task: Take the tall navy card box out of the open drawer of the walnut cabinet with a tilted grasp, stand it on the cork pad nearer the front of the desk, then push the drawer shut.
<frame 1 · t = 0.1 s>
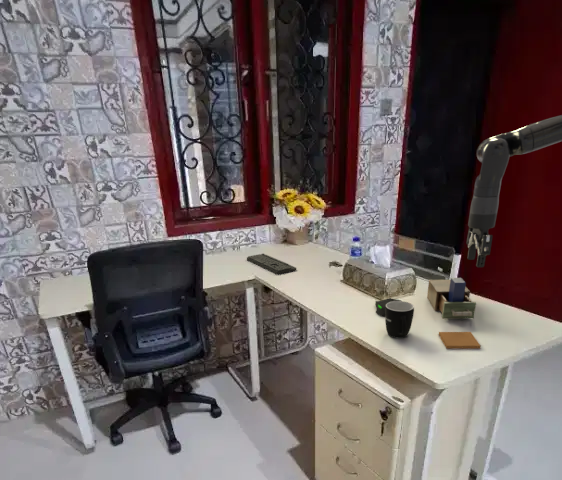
hand: (475, 263, 133), 22 cm above the table, tool pointing down, fingers open, 8 cm apart
cabinet: (446, 304, 159), on the table
drawer: (455, 306, 147), point 4 cm above the table, slide at 8.0 cm, touching card box
mug: (398, 336, 137), on the table
card box: (454, 309, 150), point 2 cm above the table, touching drawer
black electronic device: (389, 311, 157), on the table
keyboard: (270, 265, 221), on the table
cork pad: (458, 341, 131), on the table
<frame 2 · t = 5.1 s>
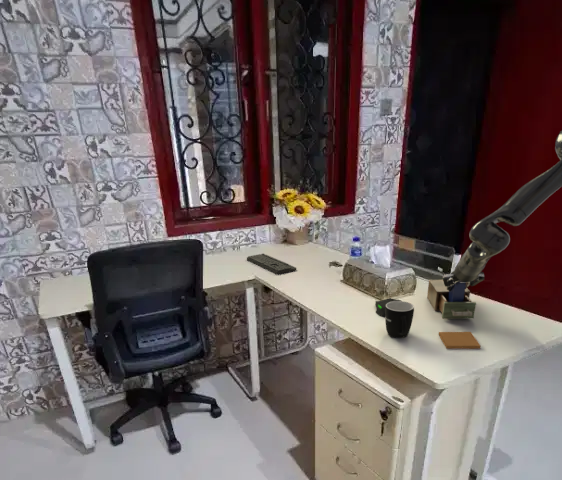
hand: (455, 288, 148), 9 cm above the table, tool tilted 45°, fingers closed on card box, 3 cm apart
card box: (454, 309, 150), point 2 cm above the table, touching drawer, gripper
everything else where it was.
when the fingers open (8 cm above the table, at t = 14.4 s): card box stays where it is, resting on cork pad.
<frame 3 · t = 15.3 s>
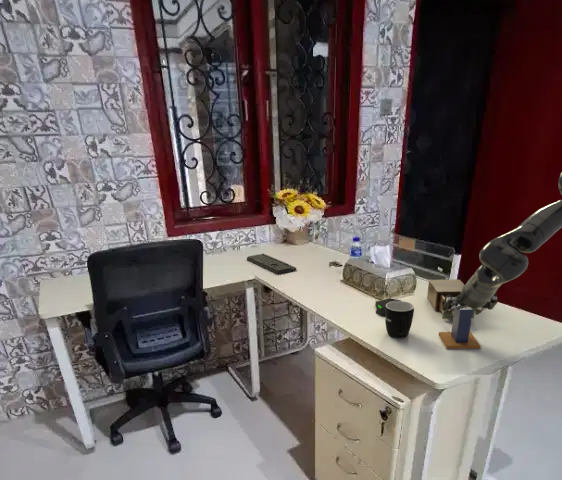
hand: (461, 311, 128), 10 cm above the table, tool tilted 45°, fingers open, 8 cm apart
drawer: (455, 306, 147), point 4 cm above the table, slide at 8.0 cm
card box: (459, 338, 131), point 1 cm above the table, touching cork pad
everything else where it was.
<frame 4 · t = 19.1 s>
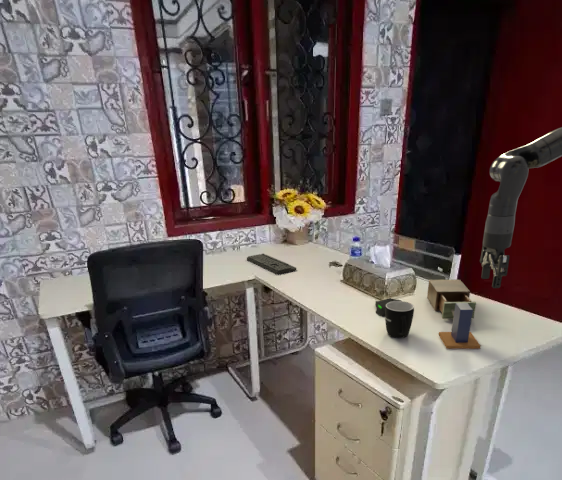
hand: (490, 283, 128), 17 cm above the table, tool pointing down, fingers open, 8 cm apart
nothing on the table moved.
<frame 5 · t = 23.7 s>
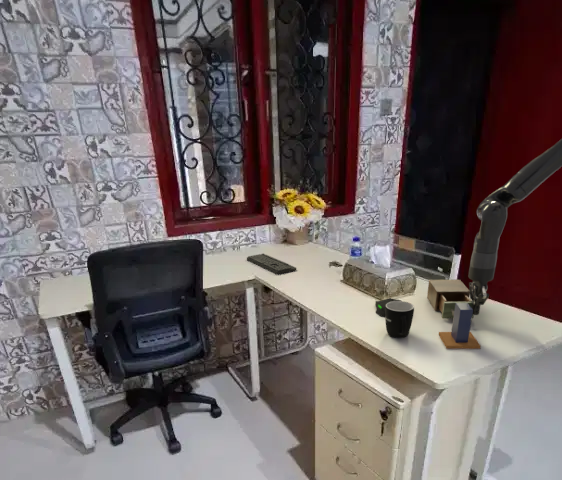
hand: (474, 313, 141), 4 cm above the table, tool pointing down, fingers closed
drawer: (455, 306, 147), point 4 cm above the table, slide at 7.7 cm, touching gripper
everything else where it was.
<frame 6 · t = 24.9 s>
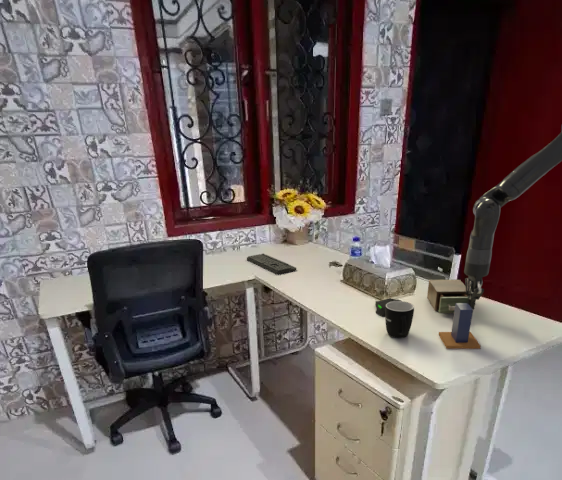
hand: (470, 308, 146), 4 cm above the table, tool pointing down, fingers closed
drawer: (452, 301, 152), point 4 cm above the table, slide at 3.0 cm, touching gripper
everything else where it was.
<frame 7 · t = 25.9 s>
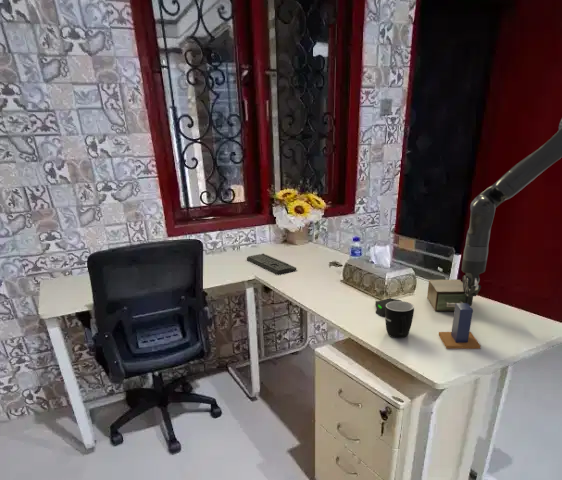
hand: (467, 305, 148), 4 cm above the table, tool pointing down, fingers closed
drawer: (450, 298, 154), point 4 cm above the table, slide at 0.0 cm, touching cabinet, gripper
everything else where it was.
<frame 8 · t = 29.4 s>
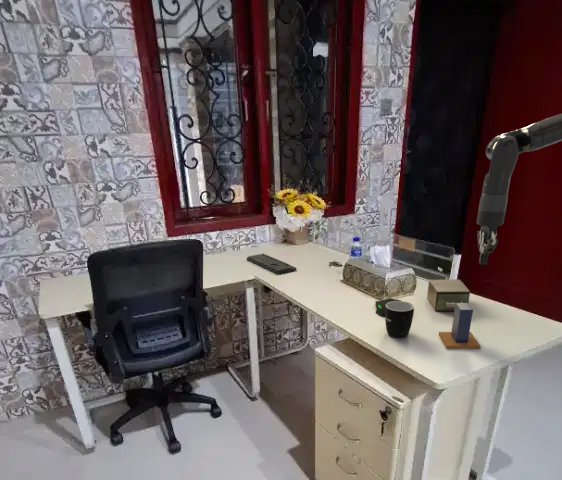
hand: (482, 263, 134), 21 cm above the table, tool pointing down, fingers closed
drawer: (450, 298, 154), point 4 cm above the table, slide at 0.0 cm, touching cabinet
everything else where it was.
at the end: card box inside the target area on the cork pad (0.1 cm from its centre), point 1.0 cm above the cork pad's base; card box tilted 0°; drawer slide at 0.0 cm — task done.
